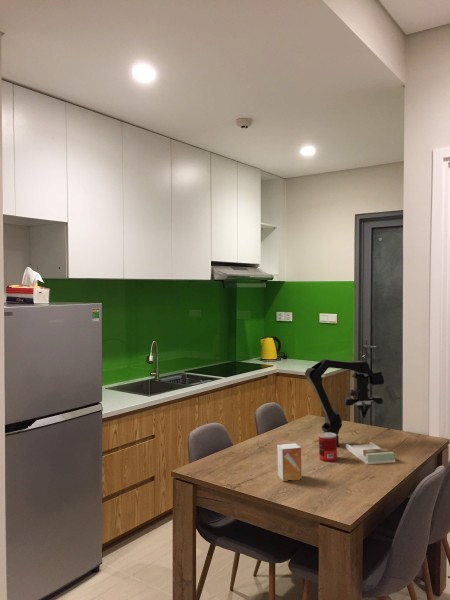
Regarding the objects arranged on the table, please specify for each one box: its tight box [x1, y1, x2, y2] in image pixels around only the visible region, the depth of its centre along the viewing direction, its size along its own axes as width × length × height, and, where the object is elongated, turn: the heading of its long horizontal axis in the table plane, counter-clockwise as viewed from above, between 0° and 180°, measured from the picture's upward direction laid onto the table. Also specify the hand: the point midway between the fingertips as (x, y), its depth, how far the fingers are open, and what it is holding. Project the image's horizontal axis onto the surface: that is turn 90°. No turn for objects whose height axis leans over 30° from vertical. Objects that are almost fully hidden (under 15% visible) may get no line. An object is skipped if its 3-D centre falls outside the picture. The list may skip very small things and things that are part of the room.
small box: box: [276, 443, 303, 482], centre depth 203 cm, size 8×6×13 cm
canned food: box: [318, 431, 338, 463], centre depth 225 cm, size 8×8×11 cm
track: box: [345, 441, 396, 465], centre depth 230 cm, size 13×24×4 cm, turn 8°
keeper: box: [363, 447, 391, 457], centre depth 222 cm, size 10×4×3 cm, turn 98°
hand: (363, 418), depth 248 cm, fingers closed
